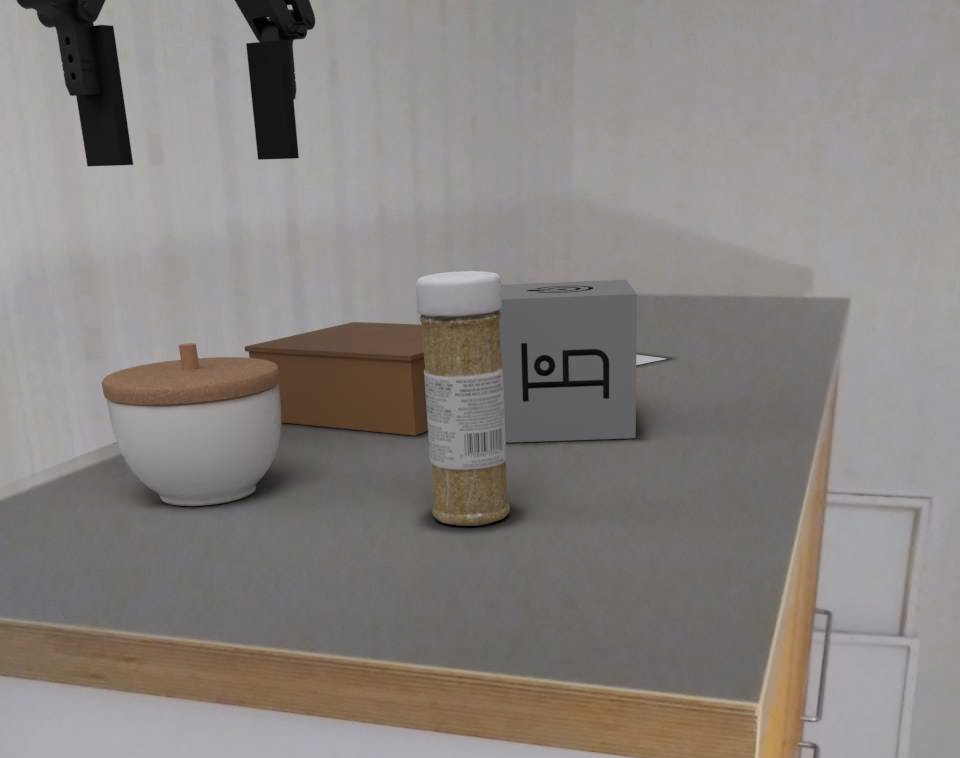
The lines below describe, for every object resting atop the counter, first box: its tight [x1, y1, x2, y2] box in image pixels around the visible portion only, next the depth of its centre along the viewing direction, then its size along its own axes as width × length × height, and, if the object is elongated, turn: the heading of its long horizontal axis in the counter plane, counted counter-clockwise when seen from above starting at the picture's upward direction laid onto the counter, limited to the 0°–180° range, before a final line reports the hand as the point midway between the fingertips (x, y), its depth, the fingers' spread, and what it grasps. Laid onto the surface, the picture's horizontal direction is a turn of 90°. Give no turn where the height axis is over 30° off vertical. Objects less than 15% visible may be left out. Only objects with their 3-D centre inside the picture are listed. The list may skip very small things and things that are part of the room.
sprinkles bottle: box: [415, 270, 511, 527], centre depth 62 cm, size 5×5×13 cm
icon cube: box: [499, 279, 638, 443], centre depth 84 cm, size 10×10×10 cm
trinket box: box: [101, 342, 282, 507], centre depth 70 cm, size 11×11×9 cm
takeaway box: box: [244, 321, 428, 437], centre depth 93 cm, size 16×14×6 cm
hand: (201, 163), depth 65 cm, fingers open, 13 cm apart
